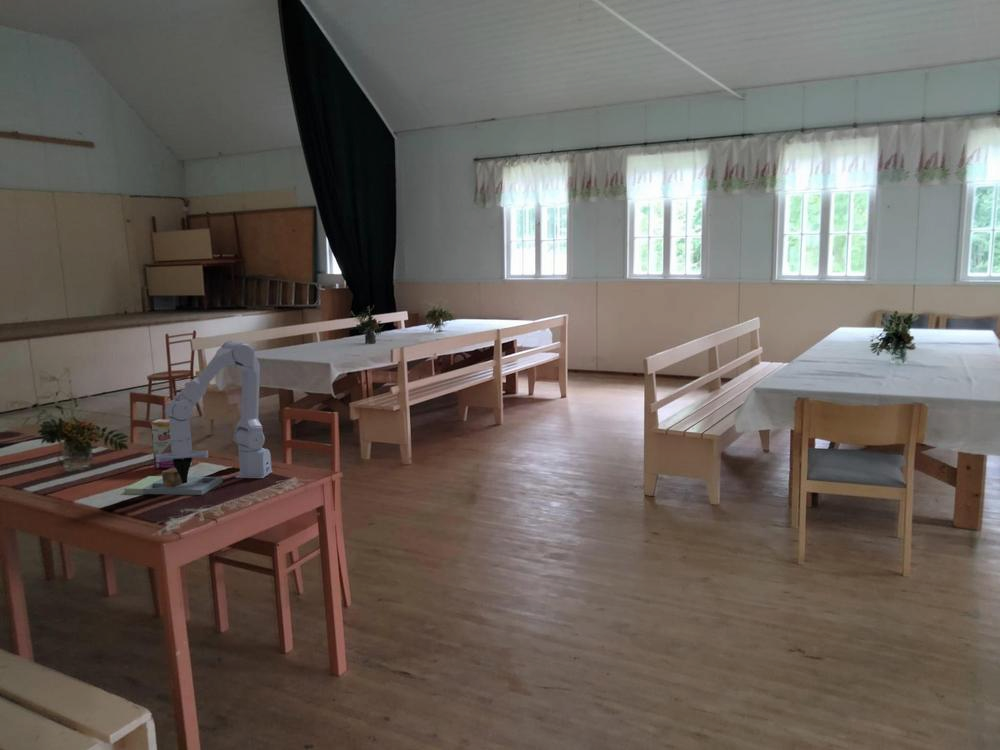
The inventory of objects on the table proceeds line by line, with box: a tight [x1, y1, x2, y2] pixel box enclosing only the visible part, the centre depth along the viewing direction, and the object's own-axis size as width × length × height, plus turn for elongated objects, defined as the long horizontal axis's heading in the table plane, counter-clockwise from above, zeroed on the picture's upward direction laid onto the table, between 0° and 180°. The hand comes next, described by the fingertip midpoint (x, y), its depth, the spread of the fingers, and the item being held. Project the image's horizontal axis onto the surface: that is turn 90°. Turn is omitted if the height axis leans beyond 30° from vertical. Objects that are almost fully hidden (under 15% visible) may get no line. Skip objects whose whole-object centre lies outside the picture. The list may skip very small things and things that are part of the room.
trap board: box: [123, 475, 224, 496], centre depth 231 cm, size 25×13×2 cm, turn 83°
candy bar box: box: [150, 418, 193, 470], centre depth 254 cm, size 11×5×16 cm, turn 89°
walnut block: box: [161, 468, 184, 487], centre depth 229 cm, size 4×4×4 cm
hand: (184, 482), depth 228 cm, fingers closed
